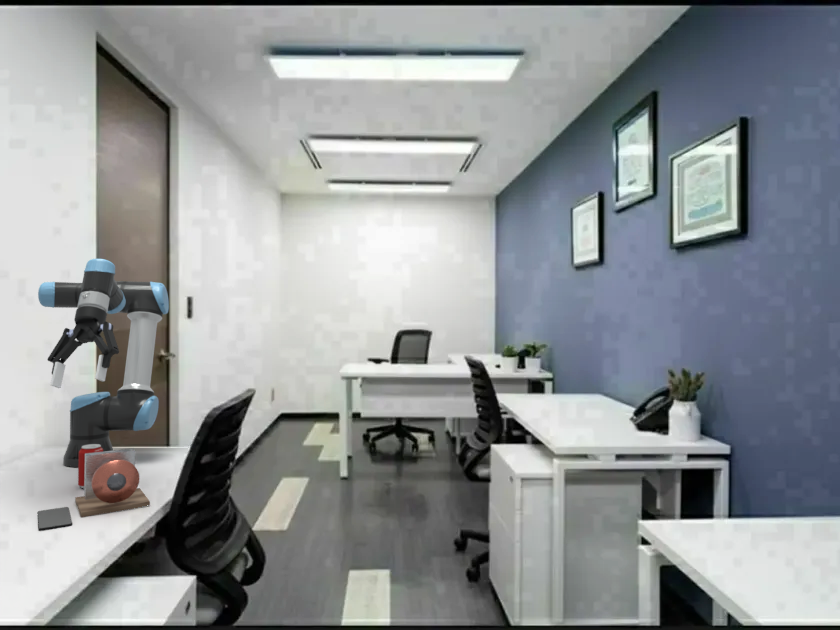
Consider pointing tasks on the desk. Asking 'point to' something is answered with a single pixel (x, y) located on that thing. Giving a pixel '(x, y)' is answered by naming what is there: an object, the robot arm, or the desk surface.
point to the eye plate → (97, 460)
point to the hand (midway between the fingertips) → (77, 383)
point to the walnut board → (110, 504)
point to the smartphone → (54, 518)
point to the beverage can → (81, 467)
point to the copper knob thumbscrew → (115, 481)
